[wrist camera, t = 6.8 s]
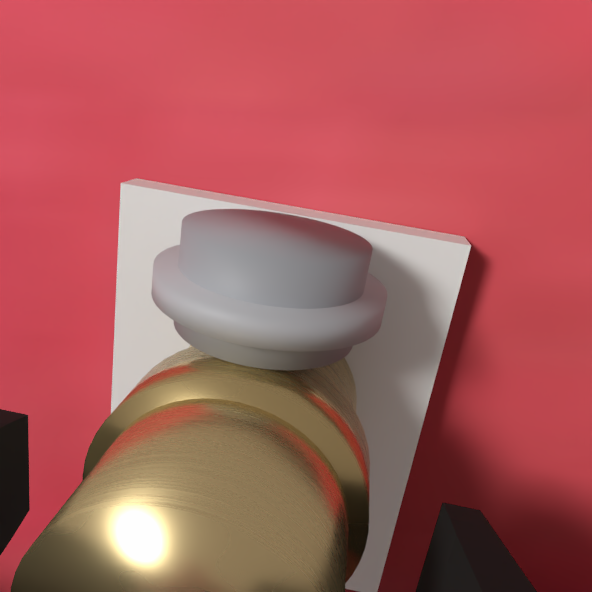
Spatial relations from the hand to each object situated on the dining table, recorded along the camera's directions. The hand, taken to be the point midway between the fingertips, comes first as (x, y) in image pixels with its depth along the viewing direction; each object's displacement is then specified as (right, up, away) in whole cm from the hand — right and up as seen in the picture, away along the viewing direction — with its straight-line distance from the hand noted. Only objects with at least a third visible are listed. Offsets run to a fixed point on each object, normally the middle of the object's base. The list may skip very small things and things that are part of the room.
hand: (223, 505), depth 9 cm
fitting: (+1, +1, +4) cm, 4 cm away
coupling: (+1, +1, +3) cm, 3 cm away
